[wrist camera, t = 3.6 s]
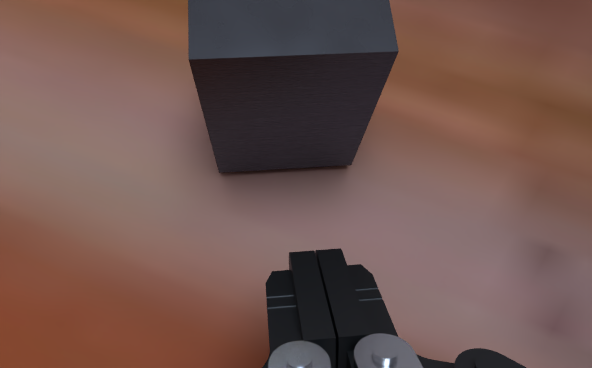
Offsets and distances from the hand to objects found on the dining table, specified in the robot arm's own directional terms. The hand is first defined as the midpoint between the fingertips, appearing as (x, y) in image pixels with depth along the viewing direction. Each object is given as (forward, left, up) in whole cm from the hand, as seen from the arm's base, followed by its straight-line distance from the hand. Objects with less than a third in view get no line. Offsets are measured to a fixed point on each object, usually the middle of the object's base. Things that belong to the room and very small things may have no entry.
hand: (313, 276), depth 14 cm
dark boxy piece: (-12, -10, -6) cm, 16 cm away
